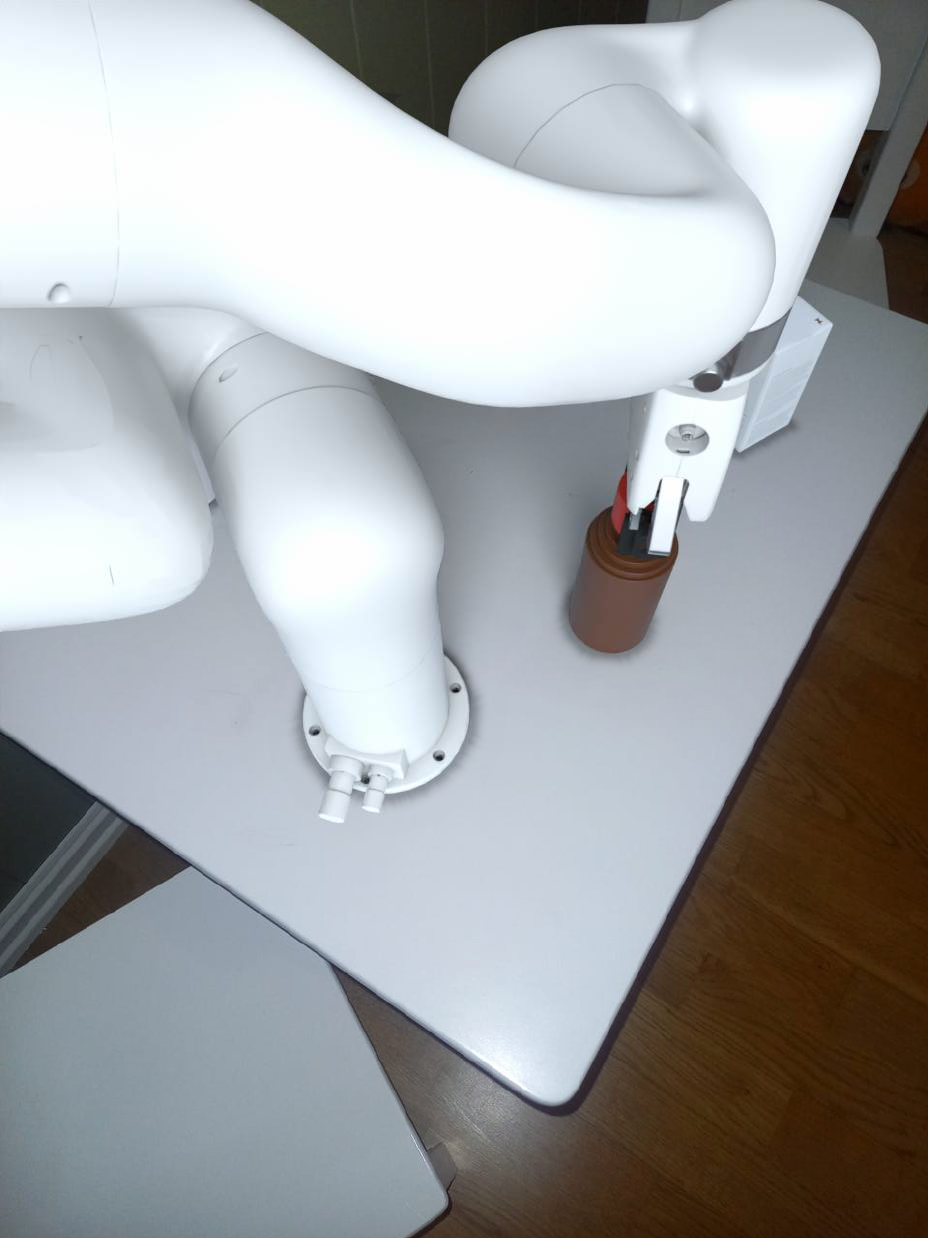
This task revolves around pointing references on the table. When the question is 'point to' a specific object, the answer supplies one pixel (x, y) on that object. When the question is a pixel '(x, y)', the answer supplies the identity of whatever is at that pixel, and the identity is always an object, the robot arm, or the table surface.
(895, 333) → the table surface
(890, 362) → the table surface
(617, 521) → the cap
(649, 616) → the sauce bottle
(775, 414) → the cosmetic box
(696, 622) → the table surface
